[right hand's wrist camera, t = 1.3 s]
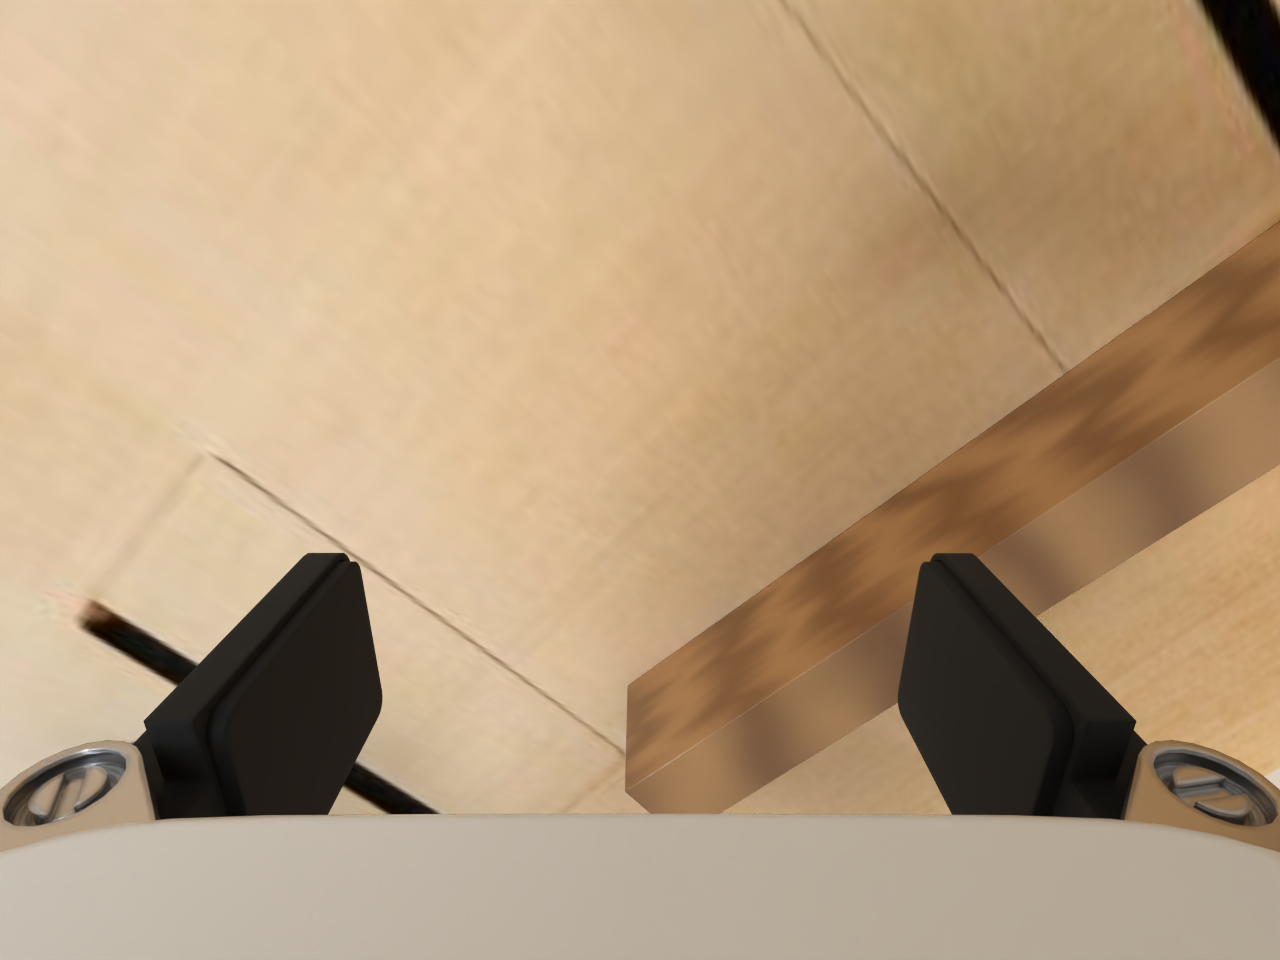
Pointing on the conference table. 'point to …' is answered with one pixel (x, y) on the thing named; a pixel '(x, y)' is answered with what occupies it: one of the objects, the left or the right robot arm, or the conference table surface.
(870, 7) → the conference table surface
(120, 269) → the conference table surface
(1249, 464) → the beam
